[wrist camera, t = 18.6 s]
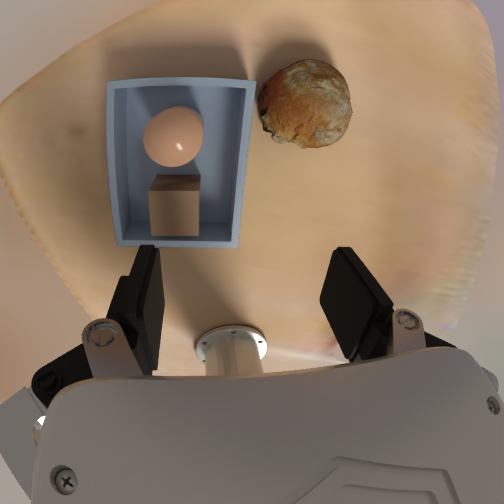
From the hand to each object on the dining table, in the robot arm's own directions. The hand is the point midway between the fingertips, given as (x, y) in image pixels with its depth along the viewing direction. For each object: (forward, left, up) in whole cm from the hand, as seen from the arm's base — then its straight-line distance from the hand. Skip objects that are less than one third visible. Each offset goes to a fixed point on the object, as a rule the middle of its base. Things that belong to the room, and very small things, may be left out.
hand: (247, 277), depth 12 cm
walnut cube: (-5, +5, -21) cm, 23 cm away
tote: (-1, +5, -22) cm, 23 cm away
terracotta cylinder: (+3, +5, -21) cm, 22 cm away
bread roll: (+6, -8, -22) cm, 25 cm away
